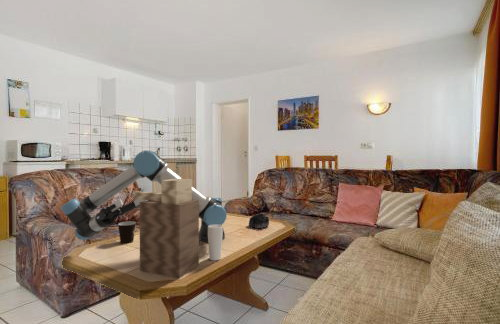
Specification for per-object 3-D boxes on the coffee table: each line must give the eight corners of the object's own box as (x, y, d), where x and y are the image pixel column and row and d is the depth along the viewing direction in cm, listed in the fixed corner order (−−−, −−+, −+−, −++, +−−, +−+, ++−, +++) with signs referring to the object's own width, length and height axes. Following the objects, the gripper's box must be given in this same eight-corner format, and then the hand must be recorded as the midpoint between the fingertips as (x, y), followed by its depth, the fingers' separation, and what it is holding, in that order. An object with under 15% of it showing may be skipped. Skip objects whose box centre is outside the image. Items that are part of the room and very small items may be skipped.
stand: (139, 270, 112) (139, 202, 112) (162, 258, 125) (162, 197, 125) (179, 278, 106) (179, 205, 105) (198, 264, 119) (198, 199, 118)
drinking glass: (208, 256, 129) (208, 224, 129) (222, 256, 130) (222, 224, 129) (207, 261, 122) (207, 228, 122) (222, 261, 123) (222, 227, 123)
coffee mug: (129, 244, 145) (129, 225, 145) (114, 243, 147) (114, 224, 146) (141, 238, 156) (141, 220, 156) (128, 237, 158) (128, 219, 158)
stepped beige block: (126, 200, 116) (126, 178, 116) (144, 196, 126) (144, 177, 126) (176, 204, 107) (176, 181, 107) (191, 200, 118) (191, 179, 118)
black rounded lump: (247, 225, 191) (246, 211, 190) (267, 223, 192) (266, 209, 191) (250, 232, 178) (248, 217, 176) (270, 229, 179) (269, 214, 178)
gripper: (126, 221, 139) (156, 202, 132) (80, 234, 115) (113, 212, 109) (120, 208, 140) (149, 188, 133) (73, 218, 117) (106, 195, 110)
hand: (133, 199), depth 121 cm, fingers open, 13 cm apart
